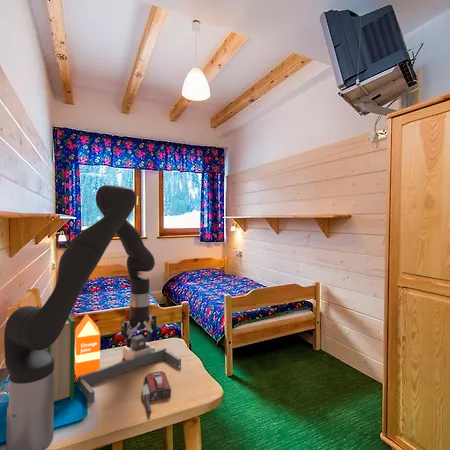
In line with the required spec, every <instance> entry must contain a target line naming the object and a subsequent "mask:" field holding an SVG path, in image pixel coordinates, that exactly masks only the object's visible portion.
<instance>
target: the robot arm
mask: <svg viewBox="0 0 450 450" xmlns="http://www.w3.org/2000/svg"><path fill="white" fill-rule="evenodd" d="M136 202H137V194H136V192H135V190H134V189H132V188H130V187H126V186H122V185H111V184H104V185H101V186H100V187H99V188H98V189H97V191H96V194H95V203H96V206H97V208H98V210H99V211H100V213H101V214H102V216H103V217H102V218H100V219H99V220H98V221H96V222H95V223H94V224H91V225H90V226H89V227H87V228H85V229H84V230H82V231H80V232H79V233H78V234H76V235H75V236H74V237H73V238H72V240H71V241H70V243H68V245H67V247H66V248H65V249H64V251H63V253H62V254H61V256H60V259H59V263H58V268H57V277H56V283H55V286H54V289H53V290H52V293H50V295H49V296H48V299H47V300H46V302H45V303H44V304H43V306H42V307H39V306H33V305H24V306H22V307H19V308H18V309H16V310H14V311H13V312H12V313H11V314H10V316H9V317H8V319H7V321H6V323H5V327H4V334H3V337H4V338H3V339H4V340H3V343H4V345H3V347H4V364H5V366H6V367H5V368H6V369H7V371H8V376H9V378H8V380H9V381H8V406H7V407H6V440H5V441H6V445H5V446H6V449H7V450H45V448H47V447H48V446H50V444H51V443H52V441H53V438H54V429H55V428H54V417H55V416H54V409H55V406H54V405H55V401H54V358H53V357H52V355H51V354H50V353H49V352H48V351H47V350H46V348H47V347H49V346H50V345H52V344H53V343H54V342H55V340H56V339H57V338H58V336H59V335H60V333H61V331H62V330H63V328H64V326H65V324H66V321H67V319H68V317H69V315H71V312H72V310H73V309H74V307H75V305H76V302H77V300H78V298H79V296H80V295H81V292H82V291H83V289H84V287H85V286H86V284H87V281H88V280H89V279H90V277H91V275H92V274H93V272H94V271H95V269H96V267H97V266H98V264H99V262H100V261H101V259H102V257H103V256H104V254H105V252H106V250H107V248H108V247H109V246H110V243H111V242H112V240H113V238H115V235H117V237H118V238H119V240H120V242H121V244H122V246H123V249H124V250H125V251H124V252H125V253H126V254H127V256H128V257H127V259H126V269H127V271H128V275H129V276H128V277H129V280H130V297H129V320H127V321H125V320H122V321H121V327H120V337H122V338H123V339H125V346H127V347H128V348H131V344H132V337H133V335H134V334H135V332H137V331H140V330H146V342H147V343H150V342H151V341H152V340H153V339H152V338H153V332H154V331H156V330H157V328H158V327H157V326H158V325H157V316H156V315H155V314H151V315H150V305H151V304H150V298H151V297H150V278H148V277H146V276H144V275H141V274H140V272H151V271H152V270H153V269H154V267H155V266H156V265H155V264H156V261H155V257H154V256H153V253H152V252H151V251H150V250H149V249H148V248H147V246H146V245H145V244H144V242H143V239H142V236H141V234H140V233H139V230H138V229H136V228H135V226H134V225H132V224H131V223H130V221H128V220H127V219H128V218H129V216H130V215H131V213H132V212H133V210H134V208H135V206H136ZM149 322H150V325H149Z"/></svg>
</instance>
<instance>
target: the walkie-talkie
mask: <svg viewBox="0 0 450 450" xmlns="http://www.w3.org/2000/svg"><path fill="white" fill-rule="evenodd" d="M144 382H145V383H144V386H143V387H142V388H141V396H142V399H141V400H142V401H143V402H145V407H146V411H147V414H148V415H151V414H152V408H151V405H150V401H154V400H158V399H168V398H169V397H171V396H172V395H171V394H172V389H171V385H170V382H169V380H168V378H167V376H166V372H164V371H161V370H160V371H156V372H149V373H147V374H146V375H145V376H144Z"/></svg>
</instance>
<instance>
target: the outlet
mask: <svg viewBox="0 0 450 450" xmlns="http://www.w3.org/2000/svg"><path fill="white" fill-rule="evenodd" d="M131 347H132V343H131ZM150 351H153V352H154V351H156V347H155V346H153V345H151V344H150V343H149V342H147V341H146V348H145V349H142V350H139V351H134V350H133V349H132V348H128V347H127V346H126V345H124V346H122V359H123V360H124V361H126V360H129V359H132V358H135V357H138V356H141V355H144V354H147V353H149V352H150Z"/></svg>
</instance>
